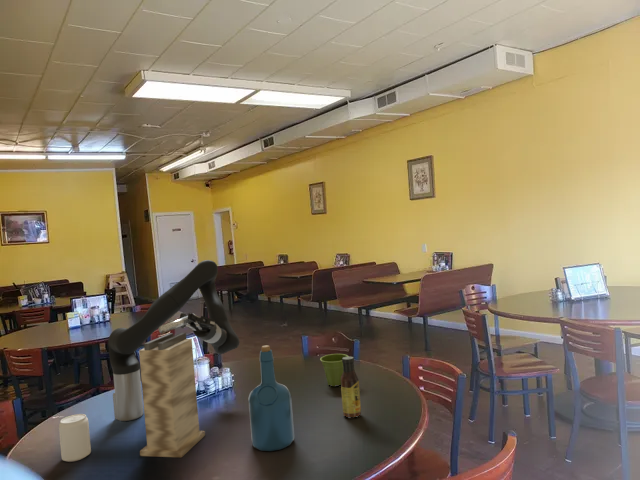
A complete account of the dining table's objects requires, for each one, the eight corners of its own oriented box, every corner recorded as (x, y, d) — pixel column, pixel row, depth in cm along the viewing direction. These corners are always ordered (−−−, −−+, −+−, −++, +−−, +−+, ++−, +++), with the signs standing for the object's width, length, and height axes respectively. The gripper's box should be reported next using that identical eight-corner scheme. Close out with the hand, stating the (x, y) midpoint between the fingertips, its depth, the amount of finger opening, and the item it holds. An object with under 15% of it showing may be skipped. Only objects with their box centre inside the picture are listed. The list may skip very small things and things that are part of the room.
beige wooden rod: (165, 333, 147) (165, 325, 147) (158, 333, 147) (158, 325, 147) (197, 320, 166) (196, 313, 166) (190, 320, 167) (190, 313, 167)
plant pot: (320, 381, 200) (318, 355, 200) (348, 378, 201) (346, 352, 201) (324, 390, 188) (321, 362, 188) (353, 387, 190) (350, 359, 189)
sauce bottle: (360, 419, 157) (355, 360, 157) (341, 419, 158) (337, 361, 158) (362, 411, 164) (358, 355, 163) (344, 411, 165) (340, 355, 164)
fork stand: (140, 455, 143) (130, 344, 142) (167, 434, 157) (158, 333, 157) (181, 457, 140) (172, 343, 139) (205, 435, 154) (196, 332, 154)
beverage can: (69, 452, 149) (65, 414, 149) (95, 449, 150) (92, 412, 150) (56, 464, 141) (53, 425, 141) (84, 461, 142) (81, 422, 142)
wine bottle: (255, 434, 151) (248, 342, 151) (296, 432, 151) (289, 339, 151) (247, 455, 138) (239, 353, 137) (292, 452, 137) (284, 350, 137)
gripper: (192, 321, 179) (169, 305, 164) (226, 320, 176) (205, 304, 161) (189, 341, 175) (164, 326, 161) (223, 340, 172) (201, 325, 157)
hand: (185, 315), depth 161 cm, fingers closed on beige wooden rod, 2 cm apart
